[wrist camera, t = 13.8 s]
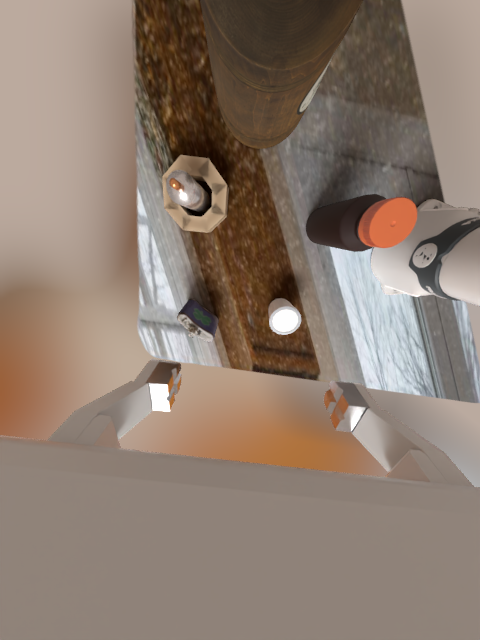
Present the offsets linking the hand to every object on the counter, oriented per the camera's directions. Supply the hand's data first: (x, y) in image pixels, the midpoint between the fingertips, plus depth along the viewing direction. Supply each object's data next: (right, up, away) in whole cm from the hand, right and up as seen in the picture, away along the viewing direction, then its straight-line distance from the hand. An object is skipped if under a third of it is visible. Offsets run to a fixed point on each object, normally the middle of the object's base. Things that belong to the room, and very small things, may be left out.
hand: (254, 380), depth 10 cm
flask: (-10, +5, +37) cm, 39 cm away
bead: (-9, +27, +26) cm, 38 cm away
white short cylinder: (+9, +6, +36) cm, 38 cm away
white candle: (-9, +27, +26) cm, 38 cm away
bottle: (+16, +23, +28) cm, 39 cm away
